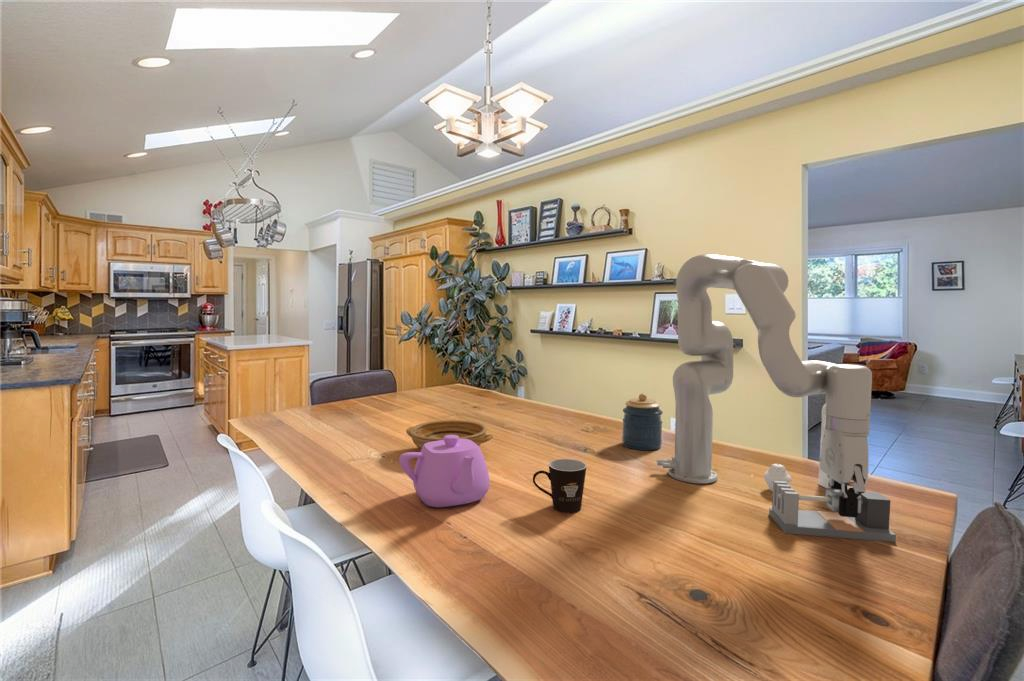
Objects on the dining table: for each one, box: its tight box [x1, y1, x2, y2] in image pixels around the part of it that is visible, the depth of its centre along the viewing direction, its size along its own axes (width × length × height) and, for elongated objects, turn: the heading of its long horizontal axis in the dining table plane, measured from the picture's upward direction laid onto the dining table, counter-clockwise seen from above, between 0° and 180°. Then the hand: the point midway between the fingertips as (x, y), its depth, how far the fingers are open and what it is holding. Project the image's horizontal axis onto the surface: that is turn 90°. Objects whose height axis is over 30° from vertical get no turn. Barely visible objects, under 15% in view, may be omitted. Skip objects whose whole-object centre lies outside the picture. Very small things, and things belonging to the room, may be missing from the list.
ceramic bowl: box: [406, 419, 494, 450], centre depth 148 cm, size 30×24×8 cm
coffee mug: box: [532, 458, 587, 514], centre depth 108 cm, size 12×9×10 cm
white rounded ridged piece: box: [763, 463, 793, 492], centre depth 118 cm, size 6×6×7 cm
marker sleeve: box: [824, 488, 861, 513], centre depth 97 cm, size 5×4×3 cm
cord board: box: [768, 481, 897, 543], centre depth 98 cm, size 20×9×8 cm, turn 80°
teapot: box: [398, 435, 491, 509], centre depth 110 cm, size 23×21×15 cm
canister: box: [621, 393, 664, 451], centre depth 158 cm, size 13×13×18 cm
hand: (842, 510), depth 98 cm, fingers closed on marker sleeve, 3 cm apart
